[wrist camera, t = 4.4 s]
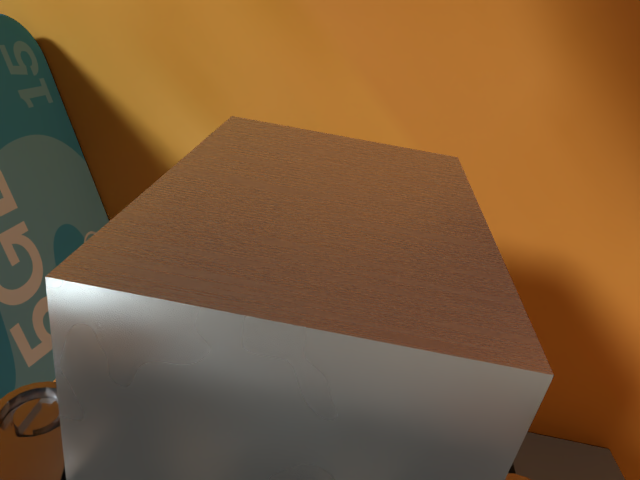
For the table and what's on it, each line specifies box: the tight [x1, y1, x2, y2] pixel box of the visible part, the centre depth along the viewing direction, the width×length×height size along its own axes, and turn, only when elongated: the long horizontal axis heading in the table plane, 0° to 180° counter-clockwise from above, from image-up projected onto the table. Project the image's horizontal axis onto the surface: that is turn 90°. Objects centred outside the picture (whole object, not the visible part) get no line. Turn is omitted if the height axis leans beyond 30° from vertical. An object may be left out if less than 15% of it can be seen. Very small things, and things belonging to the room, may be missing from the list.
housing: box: [45, 116, 554, 480], centre depth 10 cm, size 9×5×8 cm, turn 171°
